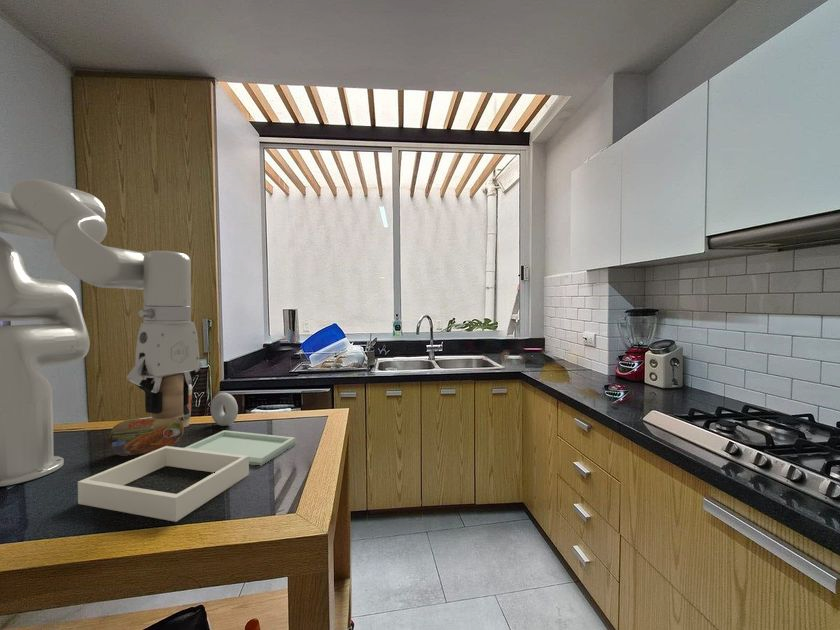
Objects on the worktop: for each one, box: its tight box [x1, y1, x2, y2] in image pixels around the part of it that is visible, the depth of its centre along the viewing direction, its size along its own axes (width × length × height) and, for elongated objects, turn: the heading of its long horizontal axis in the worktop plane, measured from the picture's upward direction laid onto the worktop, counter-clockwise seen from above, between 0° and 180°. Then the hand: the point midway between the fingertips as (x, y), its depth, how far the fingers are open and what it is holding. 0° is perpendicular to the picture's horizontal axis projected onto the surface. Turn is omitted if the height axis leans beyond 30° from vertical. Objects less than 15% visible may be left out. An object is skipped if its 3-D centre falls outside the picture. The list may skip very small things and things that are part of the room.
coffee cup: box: [176, 383, 194, 428], centre depth 105 cm, size 9×9×12 cm
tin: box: [106, 416, 185, 457], centre depth 87 cm, size 15×3×8 cm, turn 114°
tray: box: [184, 429, 296, 467], centre depth 88 cm, size 22×13×2 cm, turn 76°
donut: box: [209, 392, 239, 427], centre depth 106 cm, size 10×4×10 cm, turn 65°
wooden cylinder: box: [151, 373, 183, 419], centre depth 69 cm, size 5×5×8 cm
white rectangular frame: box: [77, 446, 250, 523], centre depth 69 cm, size 22×17×4 cm
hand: (167, 407), depth 69 cm, fingers closed on wooden cylinder, 5 cm apart
